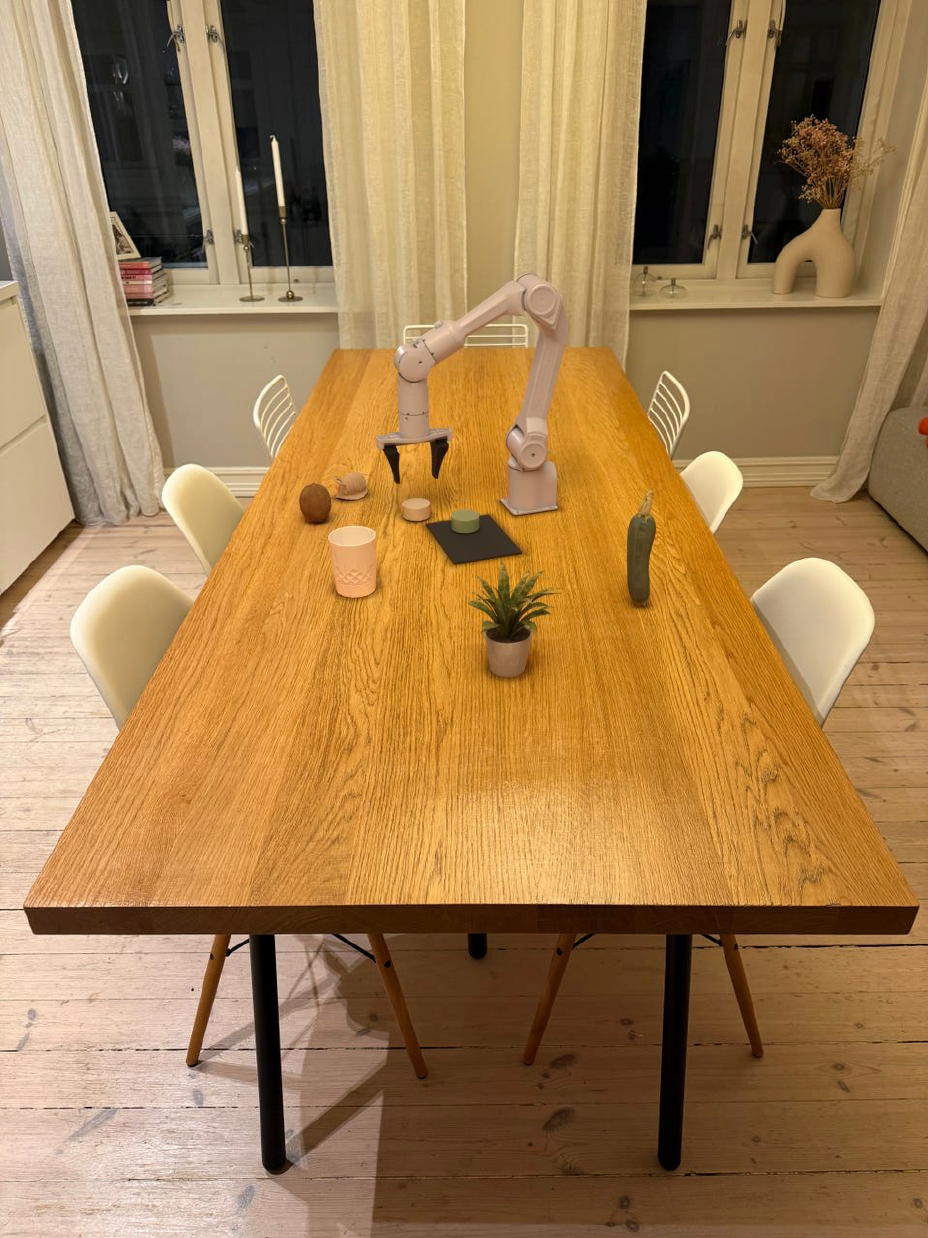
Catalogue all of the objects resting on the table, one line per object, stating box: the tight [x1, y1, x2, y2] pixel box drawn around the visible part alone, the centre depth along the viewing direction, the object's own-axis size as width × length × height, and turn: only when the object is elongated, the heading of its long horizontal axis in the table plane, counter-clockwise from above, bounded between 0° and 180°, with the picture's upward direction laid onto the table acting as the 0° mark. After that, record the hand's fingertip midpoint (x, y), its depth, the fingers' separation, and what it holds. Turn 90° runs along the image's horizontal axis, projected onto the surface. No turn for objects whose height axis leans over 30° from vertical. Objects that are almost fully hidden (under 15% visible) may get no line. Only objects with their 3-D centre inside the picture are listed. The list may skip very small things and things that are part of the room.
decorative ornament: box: [333, 471, 369, 501], centre depth 197 cm, size 4×8×5 cm, turn 129°
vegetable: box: [626, 488, 657, 607], centre depth 152 cm, size 4×4×20 cm
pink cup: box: [327, 525, 377, 599], centre depth 161 cm, size 8×8×10 cm
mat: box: [425, 513, 523, 565], centre depth 180 cm, size 13×18×1 cm
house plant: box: [467, 560, 563, 678], centre depth 136 cm, size 14×14×16 cm
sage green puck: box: [450, 508, 480, 533], centre depth 182 cm, size 5×5×3 cm
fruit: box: [298, 482, 332, 523], centre depth 186 cm, size 6×6×8 cm
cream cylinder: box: [401, 497, 431, 522], centre depth 188 cm, size 5×5×3 cm
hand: (416, 479), depth 185 cm, fingers open, 7 cm apart
